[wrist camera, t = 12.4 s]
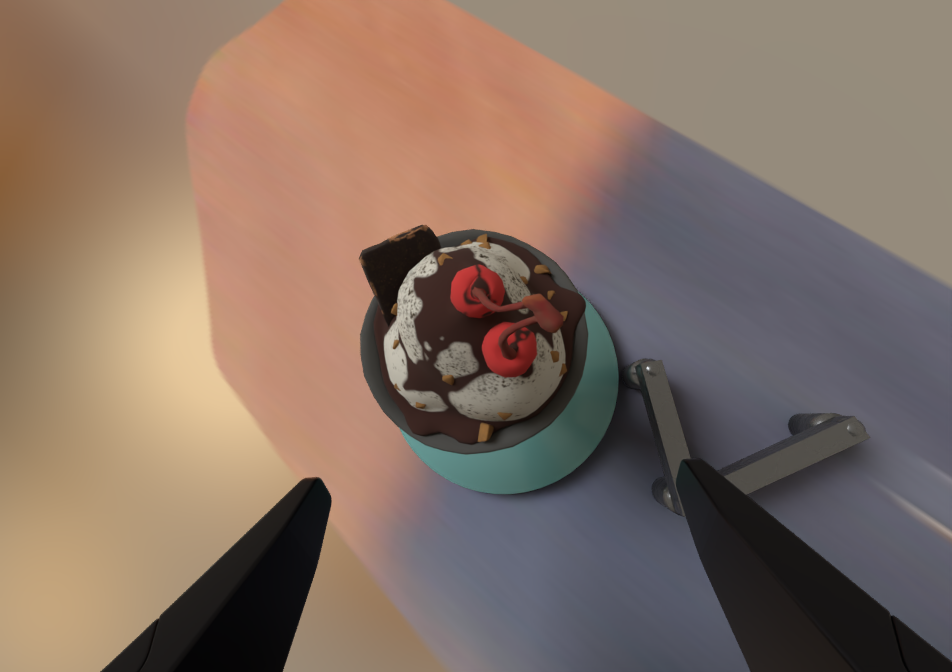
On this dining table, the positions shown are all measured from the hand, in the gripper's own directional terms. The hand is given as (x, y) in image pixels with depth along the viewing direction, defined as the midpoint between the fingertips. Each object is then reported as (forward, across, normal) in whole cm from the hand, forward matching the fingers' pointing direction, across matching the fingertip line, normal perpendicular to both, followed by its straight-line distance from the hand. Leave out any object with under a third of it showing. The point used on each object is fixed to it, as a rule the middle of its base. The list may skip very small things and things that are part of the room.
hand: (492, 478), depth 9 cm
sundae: (+10, 0, +5) cm, 11 cm away
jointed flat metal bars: (+8, -10, +9) cm, 15 cm away
